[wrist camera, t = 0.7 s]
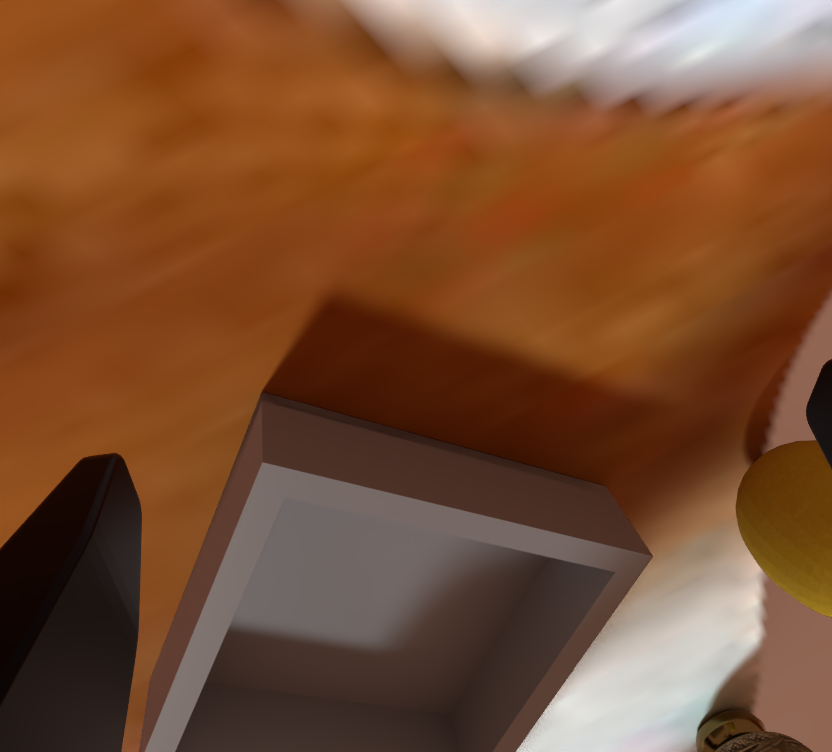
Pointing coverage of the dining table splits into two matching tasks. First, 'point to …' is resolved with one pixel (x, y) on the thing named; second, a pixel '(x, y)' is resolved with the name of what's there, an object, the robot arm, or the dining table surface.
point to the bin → (383, 594)
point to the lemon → (791, 521)
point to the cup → (742, 735)
